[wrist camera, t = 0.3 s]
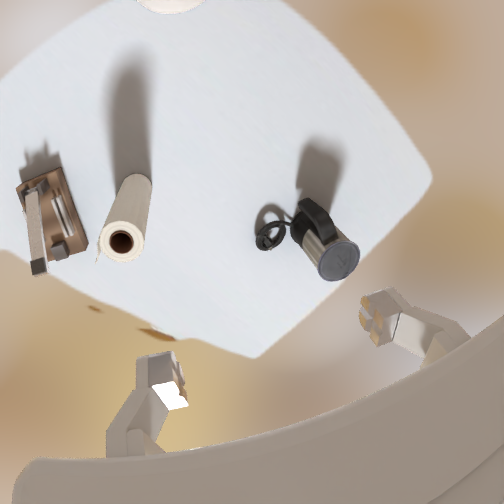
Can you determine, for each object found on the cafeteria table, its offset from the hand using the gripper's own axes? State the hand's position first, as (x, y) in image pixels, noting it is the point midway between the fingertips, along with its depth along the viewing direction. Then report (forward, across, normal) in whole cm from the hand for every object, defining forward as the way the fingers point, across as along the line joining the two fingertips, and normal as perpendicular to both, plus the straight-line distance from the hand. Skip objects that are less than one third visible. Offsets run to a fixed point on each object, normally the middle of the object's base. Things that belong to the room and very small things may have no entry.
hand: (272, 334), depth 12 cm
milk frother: (+48, -17, +24) cm, 56 cm away
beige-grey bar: (+38, +31, +6) cm, 49 cm away
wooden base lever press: (+47, +31, +7) cm, 57 cm away
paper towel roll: (+47, +13, +7) cm, 50 cm away
